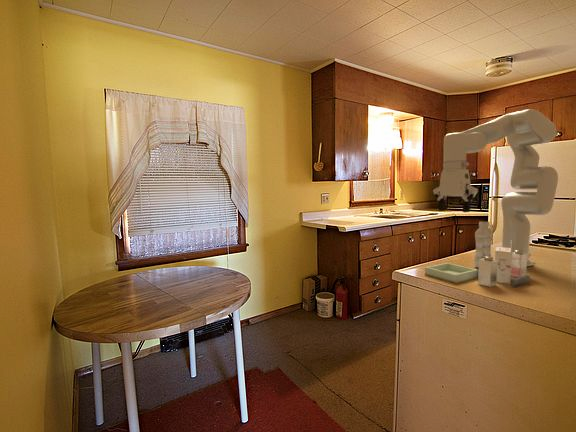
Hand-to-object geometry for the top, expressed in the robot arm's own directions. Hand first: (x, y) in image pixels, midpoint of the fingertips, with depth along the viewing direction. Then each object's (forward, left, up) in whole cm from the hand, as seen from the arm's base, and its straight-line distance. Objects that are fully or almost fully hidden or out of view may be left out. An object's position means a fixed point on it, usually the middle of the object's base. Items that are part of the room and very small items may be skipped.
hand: (453, 211), depth 115 cm
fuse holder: (-11, +13, -26) cm, 30 cm away
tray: (0, 0, -26) cm, 26 cm away
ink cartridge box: (-11, +13, -26) cm, 31 cm away
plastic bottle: (-21, 0, -26) cm, 33 cm away
